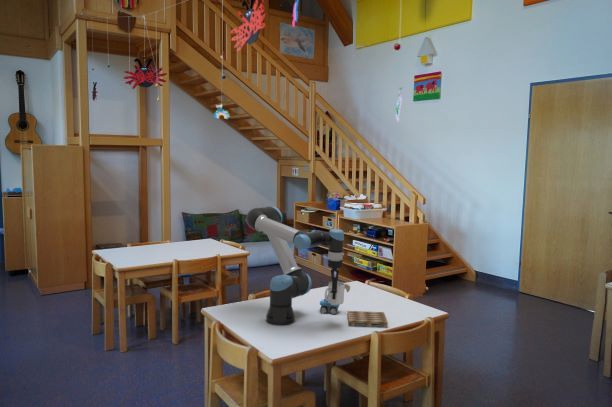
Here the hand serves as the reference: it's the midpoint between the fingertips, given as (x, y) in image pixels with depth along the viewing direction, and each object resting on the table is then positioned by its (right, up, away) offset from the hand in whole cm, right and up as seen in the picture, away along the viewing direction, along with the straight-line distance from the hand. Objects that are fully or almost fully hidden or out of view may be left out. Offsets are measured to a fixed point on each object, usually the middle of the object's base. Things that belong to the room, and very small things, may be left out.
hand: (333, 301), depth 256 cm
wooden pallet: (+18, -12, +7) cm, 23 cm away
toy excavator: (+2, -10, +22) cm, 24 cm away
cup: (0, -1, -1) cm, 1 cm away
